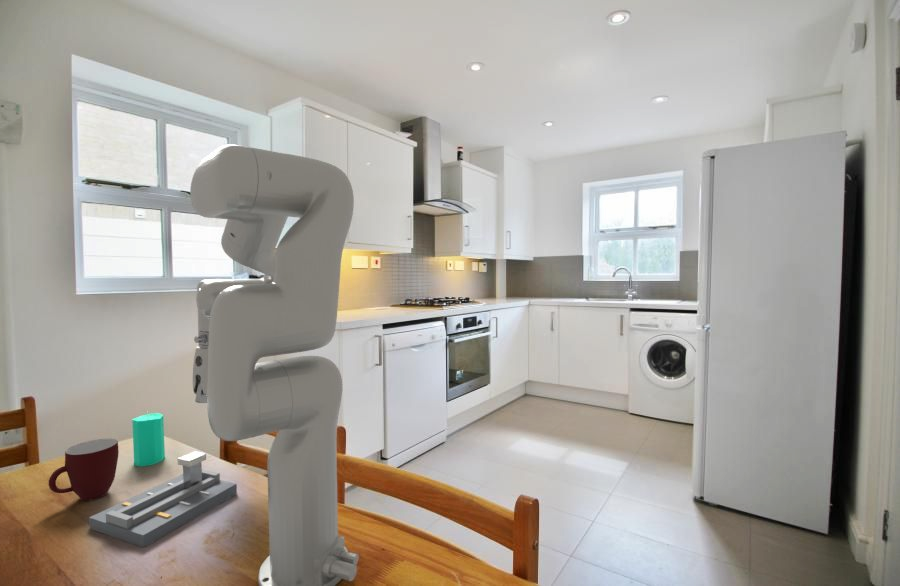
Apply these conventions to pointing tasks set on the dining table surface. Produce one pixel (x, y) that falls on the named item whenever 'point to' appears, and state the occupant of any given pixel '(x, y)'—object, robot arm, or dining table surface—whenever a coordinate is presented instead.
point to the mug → (89, 469)
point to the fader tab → (192, 468)
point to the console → (162, 509)
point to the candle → (148, 439)
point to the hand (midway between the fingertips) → (221, 423)
